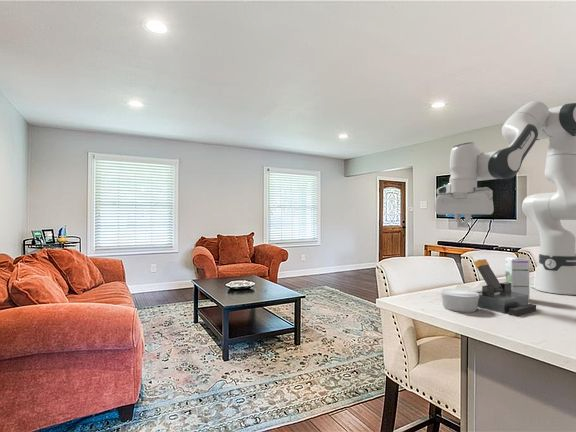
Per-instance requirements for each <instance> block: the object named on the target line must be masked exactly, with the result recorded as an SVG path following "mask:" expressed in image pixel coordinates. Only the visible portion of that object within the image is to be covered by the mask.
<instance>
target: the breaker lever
mask: <svg viewBox="0 0 576 432" xmlns="http://www.w3.org/2000/svg"><path fill="white" fill-rule="evenodd" d="M473 264H474V265H475V268H477V270H478V271H479V273H480V276H481V277H482V278H483V281H484V282H485V283H486V285H493V286H494V293H498V292H502V291H503V288H502V286H501V284H500V283H501V282H500V281H499V280H498V278H497V276H496V275H495V273H494V271H493V269H492V268H491V267H490V264H489V262H488V261H487V259H486V258H485V259H477V260H475V261H473Z"/></svg>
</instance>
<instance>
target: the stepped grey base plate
mask: <svg viewBox="0 0 576 432" xmlns="http://www.w3.org/2000/svg"><path fill="white" fill-rule="evenodd" d="M499 283H500V284H501V286H502V288H503V291H502V292H498V293H494V286H493V285H487V284H486V285H482V286H481V287H482V288H481V289H478V290H473V291H474V292H477V293H479V295H480V297H479V299H478V305H477V308H480V309H484V310H488V311H493V312H497V313H501V314H507V313H508V314H509V309H510V308H514V307H519V306H523V305H527V304H529V301H528V295H526V294H520V293H514V292H511V283H508V282H506V281H504V282H499Z"/></svg>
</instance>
